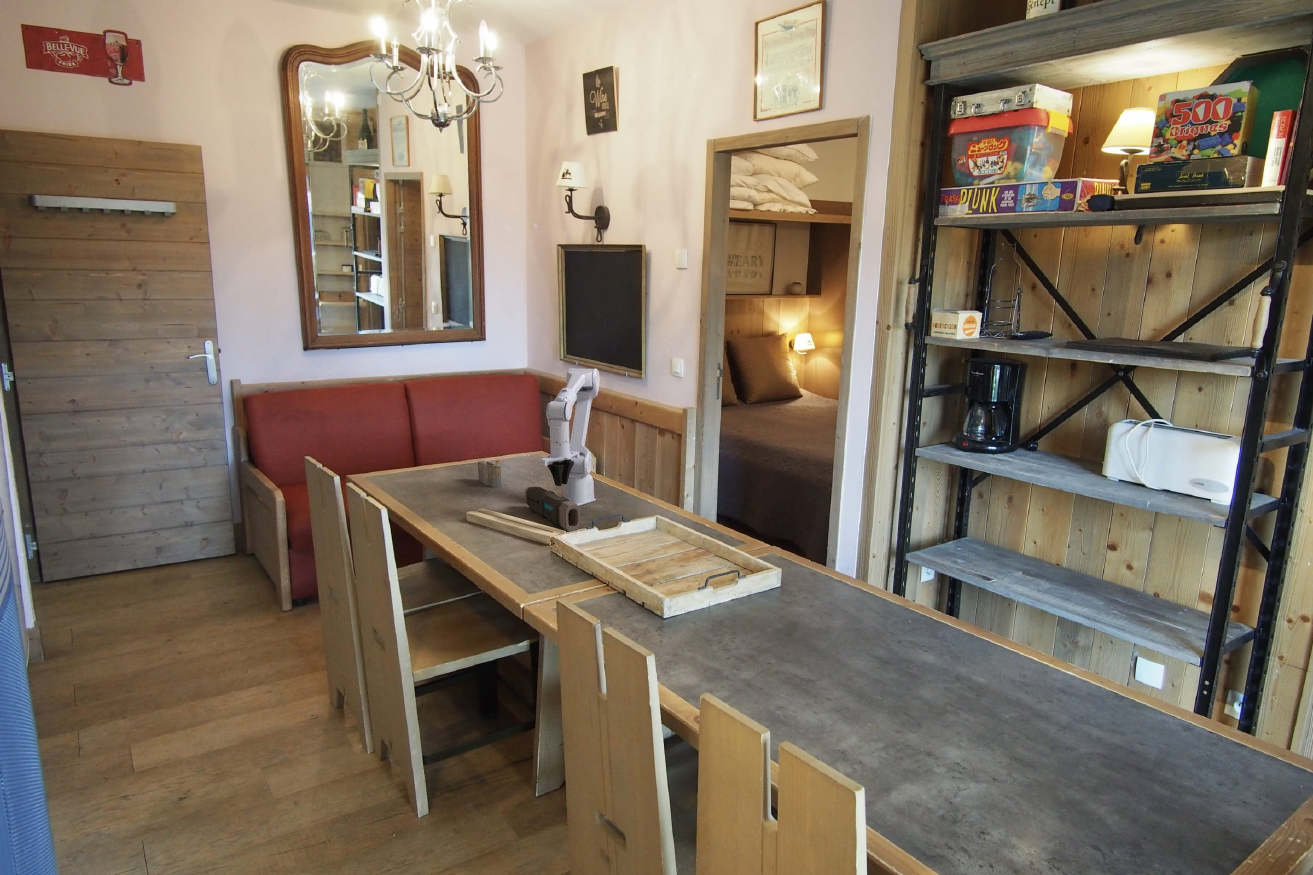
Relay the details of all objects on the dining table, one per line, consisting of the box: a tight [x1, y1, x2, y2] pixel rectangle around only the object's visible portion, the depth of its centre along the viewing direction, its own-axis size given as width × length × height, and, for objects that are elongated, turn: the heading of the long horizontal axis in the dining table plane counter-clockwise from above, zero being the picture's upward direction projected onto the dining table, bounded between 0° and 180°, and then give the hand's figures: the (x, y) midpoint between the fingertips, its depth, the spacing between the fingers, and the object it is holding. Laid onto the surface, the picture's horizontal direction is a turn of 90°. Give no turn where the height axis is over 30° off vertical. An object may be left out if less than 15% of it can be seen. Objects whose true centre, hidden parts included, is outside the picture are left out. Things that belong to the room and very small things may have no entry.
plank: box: [465, 507, 567, 546], centre depth 233 cm, size 6×36×3 cm, turn 51°
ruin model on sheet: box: [477, 459, 502, 489], centre depth 283 cm, size 11×3×10 cm, turn 40°
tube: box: [524, 486, 582, 533], centre depth 243 cm, size 11×7×30 cm
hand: (561, 484), depth 246 cm, fingers closed
